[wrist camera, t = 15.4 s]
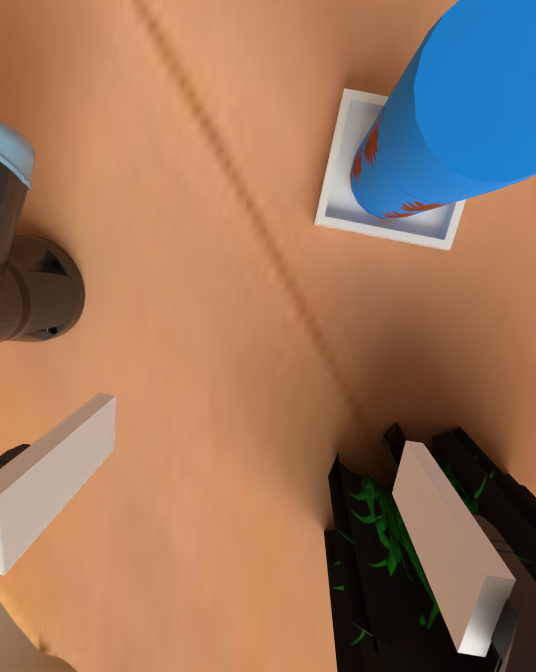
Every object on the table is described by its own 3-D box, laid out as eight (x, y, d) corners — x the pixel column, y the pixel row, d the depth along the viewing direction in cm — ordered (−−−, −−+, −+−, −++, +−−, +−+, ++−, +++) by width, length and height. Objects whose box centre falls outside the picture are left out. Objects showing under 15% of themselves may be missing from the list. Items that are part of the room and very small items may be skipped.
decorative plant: (318, 575, 60) (339, 877, 31) (326, 415, 53) (363, 612, 24) (494, 589, 58) (691, 925, 29) (527, 424, 51) (828, 651, 22)
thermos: (345, 220, 46) (400, 186, 22) (350, 127, 43) (420, -29, 19) (432, 220, 45) (591, 185, 21) (443, 126, 42) (638, -39, 18)
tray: (313, 224, 47) (314, 223, 44) (341, 99, 43) (344, 88, 41) (440, 250, 47) (450, 249, 44) (479, 125, 43) (492, 116, 40)
